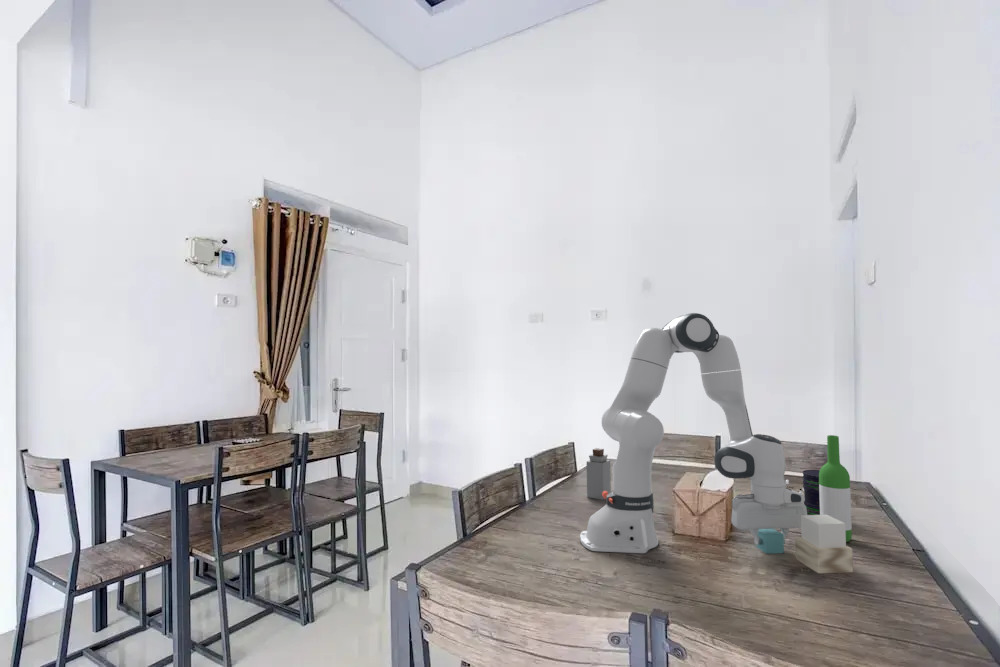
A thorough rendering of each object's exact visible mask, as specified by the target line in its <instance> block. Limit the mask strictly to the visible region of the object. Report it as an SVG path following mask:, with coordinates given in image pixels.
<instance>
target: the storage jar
mask: <svg viewBox="0 0 1000 667" xmlns="http://www.w3.org/2000/svg"><path fill="white" fill-rule="evenodd" d="M819 471H820V469H805V470H802V484H803V485H802V488H804V494H803V495H804V497H805V501H804V502H803V503H804V504H805V506H806V509H807V515H820V495H819Z"/></svg>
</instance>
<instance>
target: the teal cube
mask: <svg viewBox="0 0 1000 667" xmlns="http://www.w3.org/2000/svg"><path fill="white" fill-rule="evenodd" d="M757 535H758V536H759V537H760V538H762V539H763V541H762V543H763V544H762V545H756V544H755V545H756V548H758V549H759V550H760V551H762V552H764V554H766V555H767V554H769V555H770V554H784V553H785V544H784V537H783V534H782V533H781V531H778V530H776V529H759V533H757Z"/></svg>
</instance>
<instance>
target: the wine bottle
mask: <svg viewBox="0 0 1000 667" xmlns="http://www.w3.org/2000/svg"><path fill="white" fill-rule="evenodd" d="M826 438H827V439H826V440H827V441H826V444H827V462H826V463H825V464H823V465H822V466H821V467H820V469H819V470H820V471H819V495H820V515H828V516H830V517H833V518H835V519H837V520H839V521H841V522H843V523H845V530H846V543H847V542H850V541H851V539H852V537H853V535H852V534H853V533H852V532H853V530H852V502H851V501H852V498H851V496H852V495H851V479H850V478H851V476H850V474H849V472H848V470H847V469H846V467H845V466H844V465H842V463H841V461H840V439H839V436H838V435H832V434H830V435H827V437H826Z"/></svg>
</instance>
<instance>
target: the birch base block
mask: <svg viewBox="0 0 1000 667" xmlns="http://www.w3.org/2000/svg"><path fill="white" fill-rule="evenodd" d="M794 538H795V542H794V543H795V559H796V560H797V561H798V562H800V563H802V564H803V565H804V566H806V567H808V568H809V569H811V570H813V572H815V573H817V574H838V573H840V574H841V573H854V561H853V559H854V558H853V547H850V546H848V545H846V547H845V548H818V547H816V546H814V545H813V544H811V543H809V542H807V541H806V540H804V539H802V536H795V537H794Z"/></svg>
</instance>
